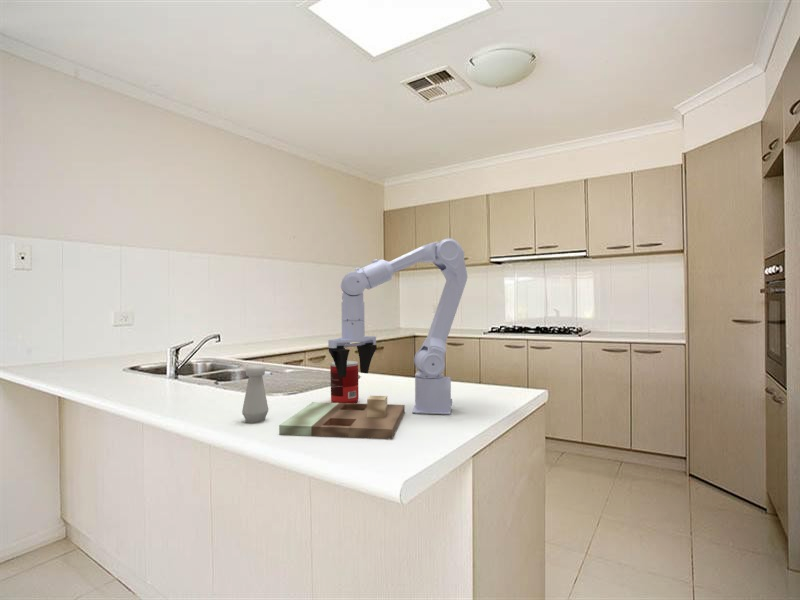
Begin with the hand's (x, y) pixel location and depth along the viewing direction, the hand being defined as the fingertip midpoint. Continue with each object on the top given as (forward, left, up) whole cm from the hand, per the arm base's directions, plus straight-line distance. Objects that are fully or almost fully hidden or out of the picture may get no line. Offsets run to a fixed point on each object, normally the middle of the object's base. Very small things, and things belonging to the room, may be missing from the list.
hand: (353, 374), depth 112 cm
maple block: (-8, +9, -8) cm, 14 cm away
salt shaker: (+21, +10, -10) cm, 25 cm away
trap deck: (-1, +9, -10) cm, 13 cm away
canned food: (+5, -12, -10) cm, 17 cm away
